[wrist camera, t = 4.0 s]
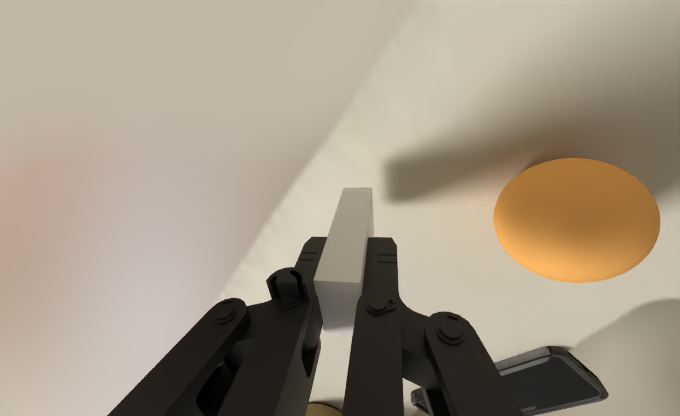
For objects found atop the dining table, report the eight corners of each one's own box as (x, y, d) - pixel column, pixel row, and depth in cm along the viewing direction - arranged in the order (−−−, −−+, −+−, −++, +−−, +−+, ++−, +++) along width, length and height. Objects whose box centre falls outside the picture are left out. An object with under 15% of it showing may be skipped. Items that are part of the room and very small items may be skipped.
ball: (617, 138, 12) (757, 193, 8) (575, 233, 15) (659, 316, 10) (489, 144, 13) (544, 194, 9) (472, 232, 16) (506, 306, 11)
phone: (406, 400, 26) (560, 351, 19) (405, 388, 27) (552, 337, 20) (456, 432, 28) (615, 399, 21) (454, 420, 29) (605, 384, 22)
